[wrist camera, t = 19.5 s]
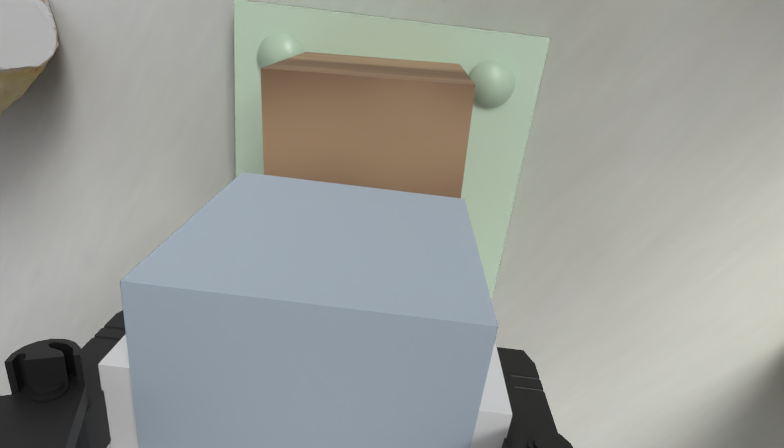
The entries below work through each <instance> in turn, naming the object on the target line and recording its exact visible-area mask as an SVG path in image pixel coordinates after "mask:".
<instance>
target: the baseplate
mask: <svg viewBox="0 0 784 448" xmlns="http://www.w3.org/2000/svg"><path fill="white" fill-rule="evenodd" d="M549 41H550V38H547V37H540V36H532V35H524V34H516V33H508V32H499V31H491V30H483V29H475V28H467V27H458V26H450V25H442V24H434V23H426V22H417V21H409V20H401V19H393V18H385V17H376V16H368V15H360V14H352V13H344V12H335V11H327V10H319V9H311V8H303V7H294V6H286V5H278V4H270V3H262V2H253V1H245V0H234V69H235V152H236V177H237V176H238V175H239V174H241V173H242V172H246V173H254V174H262V175H264V161H263V131H262V100H261V70H260V68H262V67H265V66H268V65H271V64H273V63H276V62H279V61H282V60H284V59H287V58H290V57H293V56H295V55H298V54H301V53H304V52H313V53H326V54H339V55H352V56H365V57H378V58H391V59H404V60H417V61H429V62H442V63H455V64H460V65H461V66H462V68H463V69H464V70H465V72H466V73H467V74H468V76H469V77H470V78H471V80H472V81H473V82H474V84H475V85H476V86H475V93H474V101H473V108H472V116H471V124H470V131H469V139H468V146H467V154H466V162H465V169H464V177H463V184H462V192H461V199H465V203H466V206H467V210H468V214H469V218H470V222H471V225H472V229H473V233H474V237H475V240H476V244H477V248H478V252H479V256H480V259H481V263H482V267H483V271H484V275H485V278H486V282H487V286H488V290H489V294H490V297H491V301H492V297H493V293H494V288H495V284H496V279H497V275H498V270H499V266H500V261H501V257H502V252H503V248H504V243H505V239H506V234H507V230H508V225H509V221H510V216H511V212H512V207H513V203H514V198H515V194H516V189H517V185H518V180H519V176H520V171H521V167H522V162H523V158H524V153H525V149H526V144H527V140H528V135H529V131H530V126H531V122H532V117H533V113H534V108H535V104H536V99H537V95H538V90H539V86H540V81H541V77H542V73H543V68H544V64H545V59H546V55H547V50H548V46H549Z"/></svg>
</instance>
